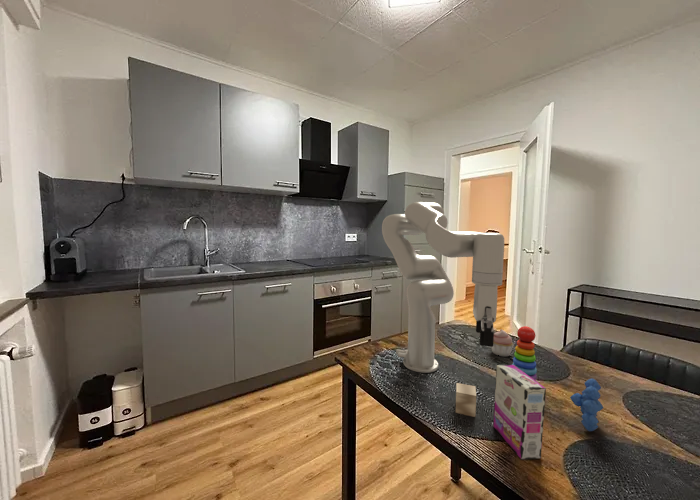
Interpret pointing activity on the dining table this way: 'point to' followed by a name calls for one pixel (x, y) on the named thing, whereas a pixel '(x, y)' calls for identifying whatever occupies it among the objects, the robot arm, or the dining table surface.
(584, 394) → the grapes
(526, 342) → the stacking toy
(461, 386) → the beech block
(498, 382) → the candy bar box
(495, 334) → the cupcake
